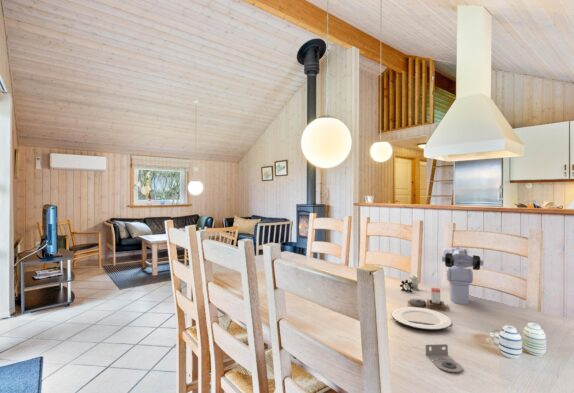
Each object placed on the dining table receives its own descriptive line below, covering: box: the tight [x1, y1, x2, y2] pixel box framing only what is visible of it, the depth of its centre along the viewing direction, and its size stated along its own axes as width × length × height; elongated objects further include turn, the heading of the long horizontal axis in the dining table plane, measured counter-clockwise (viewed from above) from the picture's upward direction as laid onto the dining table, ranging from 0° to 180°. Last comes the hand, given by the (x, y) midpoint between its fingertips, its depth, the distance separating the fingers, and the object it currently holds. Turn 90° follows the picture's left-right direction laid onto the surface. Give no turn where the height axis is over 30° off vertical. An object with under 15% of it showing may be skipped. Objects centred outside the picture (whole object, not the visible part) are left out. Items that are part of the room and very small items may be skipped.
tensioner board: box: [407, 298, 451, 312], centre depth 131 cm, size 8×16×3 cm, turn 68°
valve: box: [399, 275, 419, 293], centre depth 155 cm, size 7×7×12 cm
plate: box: [391, 306, 452, 331], centre depth 118 cm, size 21×21×2 cm
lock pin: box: [430, 287, 441, 305], centre depth 130 cm, size 3×3×7 cm
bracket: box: [425, 343, 463, 373], centre depth 88 cm, size 7×10×4 cm, turn 2°
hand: (464, 264), depth 119 cm, fingers open, 7 cm apart
